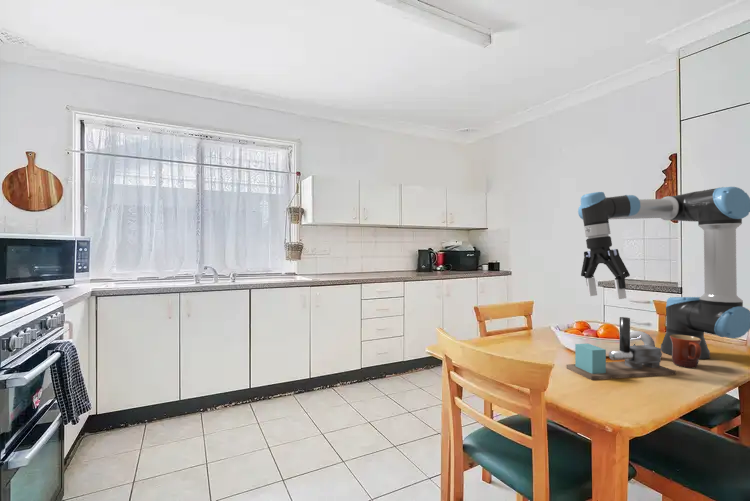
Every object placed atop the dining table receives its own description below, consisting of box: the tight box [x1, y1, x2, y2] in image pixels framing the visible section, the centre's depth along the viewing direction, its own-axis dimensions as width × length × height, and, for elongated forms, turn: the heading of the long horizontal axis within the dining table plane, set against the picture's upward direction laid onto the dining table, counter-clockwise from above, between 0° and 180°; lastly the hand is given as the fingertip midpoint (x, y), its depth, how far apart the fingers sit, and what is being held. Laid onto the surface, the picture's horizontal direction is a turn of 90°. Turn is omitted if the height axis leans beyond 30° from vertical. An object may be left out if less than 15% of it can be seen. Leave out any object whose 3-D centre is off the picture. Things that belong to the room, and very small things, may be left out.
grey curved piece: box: [630, 330, 656, 347], centre depth 144 cm, size 10×4×10 cm, turn 40°
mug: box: [670, 335, 701, 369], centre depth 131 cm, size 12×9×10 cm
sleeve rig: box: [565, 344, 677, 381], centre depth 127 cm, size 32×12×8 cm, turn 99°
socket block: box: [574, 343, 607, 374], centre depth 125 cm, size 5×8×8 cm, turn 9°
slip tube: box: [608, 316, 663, 361], centre depth 128 cm, size 18×3×14 cm, turn 99°
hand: (606, 297), depth 127 cm, fingers open, 13 cm apart
